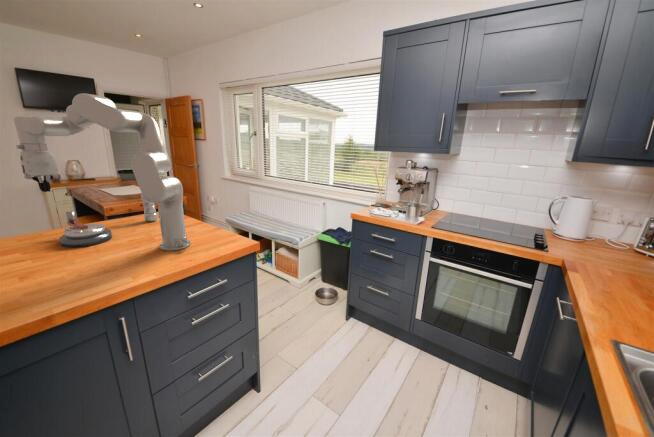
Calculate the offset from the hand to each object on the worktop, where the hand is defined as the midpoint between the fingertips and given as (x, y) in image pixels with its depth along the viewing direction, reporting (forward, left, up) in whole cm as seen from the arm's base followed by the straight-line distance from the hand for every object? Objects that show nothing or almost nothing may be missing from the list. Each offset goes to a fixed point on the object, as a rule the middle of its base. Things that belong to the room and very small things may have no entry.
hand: (46, 191), depth 118 cm
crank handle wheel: (-7, -7, -20) cm, 22 cm away
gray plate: (-10, -7, -23) cm, 26 cm away
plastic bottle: (-3, -40, -23) cm, 46 cm away
